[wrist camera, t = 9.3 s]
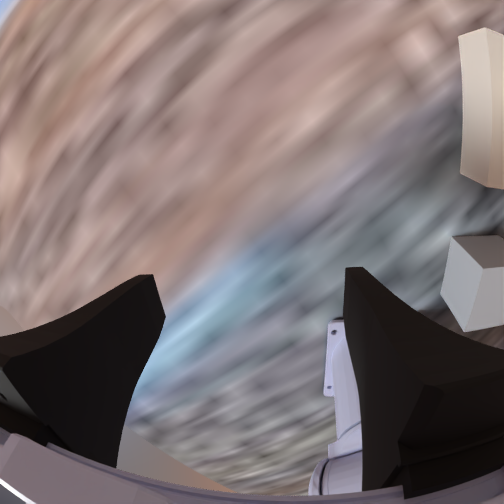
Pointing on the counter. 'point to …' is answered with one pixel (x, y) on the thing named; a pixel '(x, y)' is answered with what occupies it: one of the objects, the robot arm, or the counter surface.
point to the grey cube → (475, 281)
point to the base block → (483, 107)
